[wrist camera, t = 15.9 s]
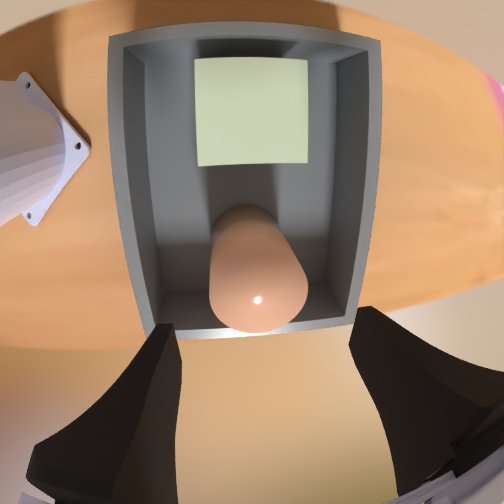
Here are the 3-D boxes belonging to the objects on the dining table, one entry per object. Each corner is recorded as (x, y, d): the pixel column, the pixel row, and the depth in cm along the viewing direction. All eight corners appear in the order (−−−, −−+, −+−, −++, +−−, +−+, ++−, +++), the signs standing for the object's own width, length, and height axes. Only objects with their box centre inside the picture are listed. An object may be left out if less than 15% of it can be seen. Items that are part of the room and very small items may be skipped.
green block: (203, 155, 17) (197, 166, 12) (200, 76, 15) (194, 59, 10) (284, 152, 17) (307, 163, 13) (283, 75, 15) (307, 60, 11)
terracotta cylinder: (239, 278, 21) (249, 346, 15) (196, 232, 19) (188, 290, 13) (291, 241, 20) (324, 298, 14) (252, 190, 18) (272, 229, 12)
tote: (135, 56, 14) (109, 36, 9) (343, 55, 15) (380, 40, 11) (158, 297, 21) (147, 340, 17) (329, 285, 23) (353, 323, 18)
